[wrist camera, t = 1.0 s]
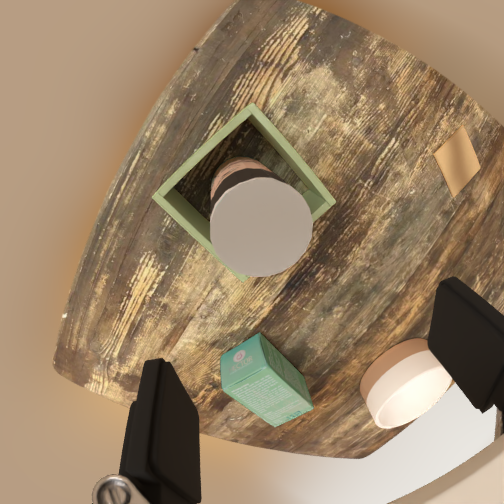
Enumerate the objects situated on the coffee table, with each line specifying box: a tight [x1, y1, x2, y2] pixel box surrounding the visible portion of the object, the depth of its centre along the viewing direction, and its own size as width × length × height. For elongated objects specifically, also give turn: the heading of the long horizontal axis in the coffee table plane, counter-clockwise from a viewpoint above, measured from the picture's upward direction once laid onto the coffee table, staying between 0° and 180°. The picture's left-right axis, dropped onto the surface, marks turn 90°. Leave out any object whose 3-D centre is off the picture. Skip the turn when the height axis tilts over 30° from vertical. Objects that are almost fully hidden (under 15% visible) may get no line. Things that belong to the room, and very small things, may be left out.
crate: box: [152, 102, 336, 282], centre depth 30 cm, size 13×13×6 cm
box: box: [220, 332, 314, 427], centre depth 41 cm, size 7×14×8 cm, turn 36°
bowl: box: [360, 338, 452, 428], centre depth 47 cm, size 17×17×8 cm
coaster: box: [433, 125, 480, 198], centre depth 34 cm, size 8×8×1 cm
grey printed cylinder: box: [210, 156, 313, 277], centre depth 26 cm, size 7×7×15 cm
